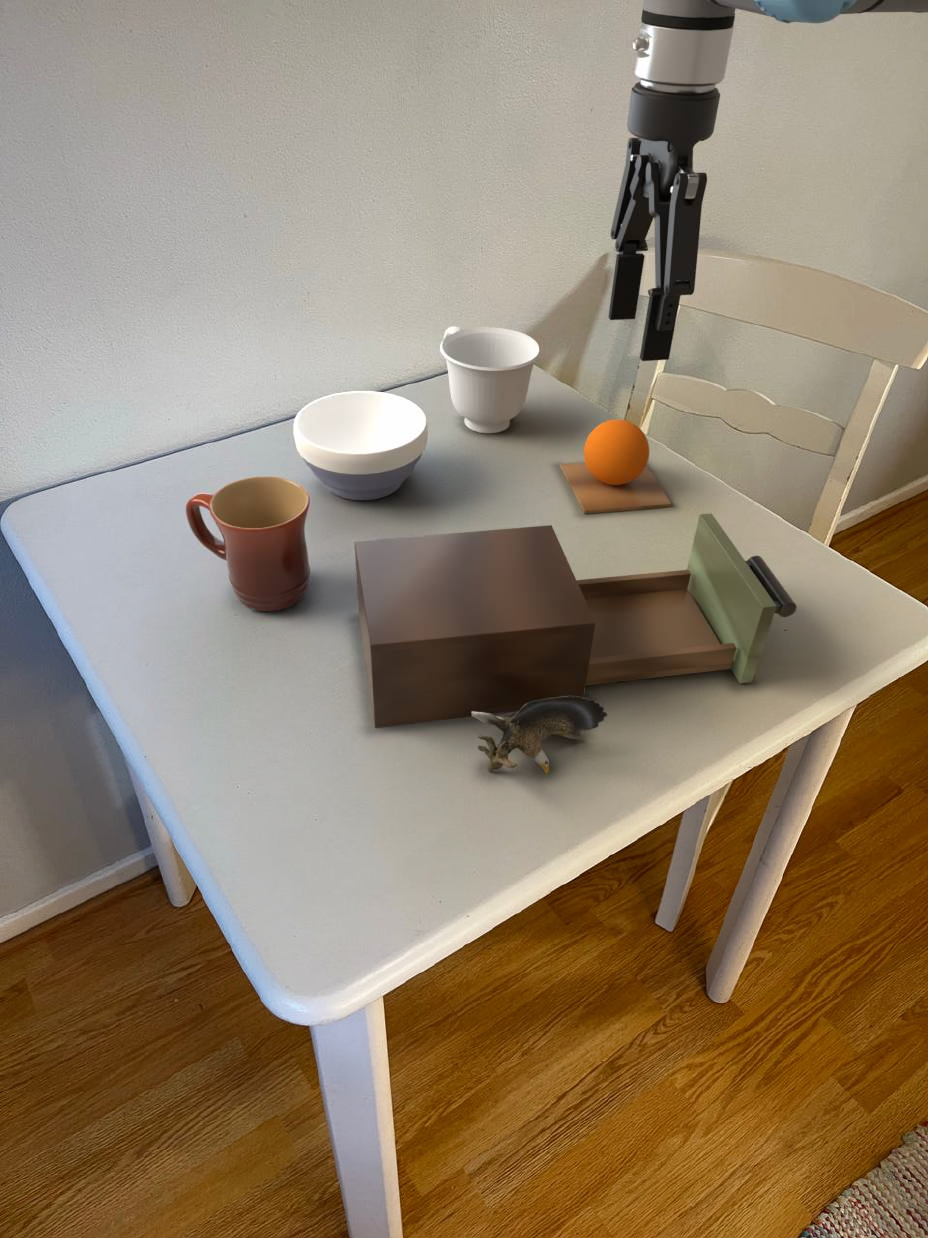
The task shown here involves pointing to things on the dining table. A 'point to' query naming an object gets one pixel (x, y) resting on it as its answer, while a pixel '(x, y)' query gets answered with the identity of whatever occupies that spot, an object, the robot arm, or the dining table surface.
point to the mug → (258, 538)
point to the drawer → (685, 614)
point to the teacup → (488, 374)
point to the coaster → (613, 491)
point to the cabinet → (470, 623)
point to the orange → (616, 452)
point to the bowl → (361, 442)
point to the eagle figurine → (539, 727)
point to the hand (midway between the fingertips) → (637, 337)
